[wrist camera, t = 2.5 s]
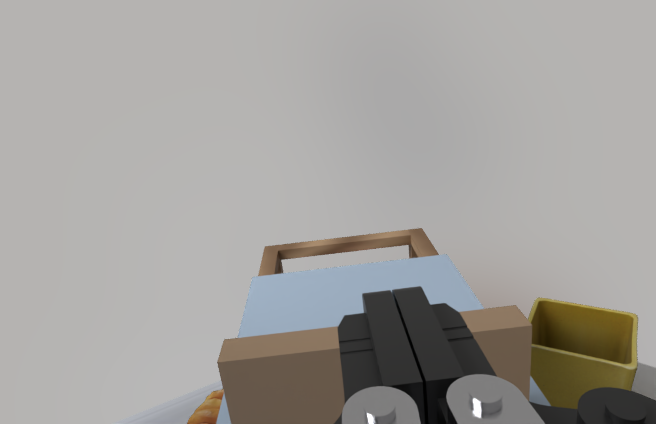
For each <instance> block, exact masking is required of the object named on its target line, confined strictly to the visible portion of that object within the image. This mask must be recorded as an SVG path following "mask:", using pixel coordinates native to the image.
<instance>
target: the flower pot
mask: <svg viewBox="0 0 656 424" xmlns="http://www.w3.org/2000/svg"><path fill="white" fill-rule="evenodd" d="M528 321H529V322H530V323H531V324H532V344H531V369H530V376H531V377H532V379H533V380H534V382H535V383H536V384H537V386H538V387H539V389H540V390H541V392H542V393H543V395H544V396H545V398H546V399H547V400H548V402H549V403H550V405H551V406H554V407H563V408H571V409H577V406H578V401H579V399H580V397H581V396H582V395H583V394H584V393H585V392H587V391H589V390H592V389H595V388H602V387H612V388H620V389H625V390H629V391H631V388H632V384H633V381H634V377H635V373H636V370H637V366H638V365H637V330H638V317H637V315H636V314H633V313H629V312H624V311H617V310H611V309H605V308H599V307H592V306H587V305H581V304H576V303H569V302H564V301H557V300H552V299H546V298H537V299H536V300H535V302H534V304H533V306H532V309H531V312H530V314H529V317H528Z"/></svg>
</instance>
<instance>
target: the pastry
mask: <svg viewBox="0 0 656 424" xmlns="http://www.w3.org/2000/svg"><path fill="white" fill-rule="evenodd" d="M223 394H224V390H223V389H222V390H218V391H213V392H212V393H211V394H210V395H209V396H207V398H206V400H205V402H204V403H203V404H201V405H200V406H199V407H198V408H197V409H196V411H195V412H194V414H193V415H192V416H191V417H190V418H189V420H188V423H187V424H216V422H217V418H218V414H219V410H220V406H221V402H222V398H223Z"/></svg>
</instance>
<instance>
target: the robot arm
mask: <svg viewBox="0 0 656 424" xmlns="http://www.w3.org/2000/svg"><path fill="white" fill-rule="evenodd" d="M362 300H363V310H364V313H359V314H351V315H344V317H343V319H342V321H341V322H340V324H339V326H338V328H337V329H338V339H339V349H340V359H341V368H342V378H343V388H344V397H345V404H344V407H343V411H342V413H341V415H340V417H339V418H338V419H337V420H336V422H335V423H334V424H656V401H655V400H653V399H651V398H648V397H646V396H643V395H641V394H638V393H635V392H633V391H629V390H625V389H620V388H612V387H602V388H595V389H592V390H589V391H587V392H585V393H584V394H583V395H582V396H581V397H580V399H579V401H578V406H577V409H571V408H563V407H554V406H546V405H540V404H537V403H533V402H530V401H528V400H527V399H526V397H525V396H524V395H523V394H522V392H521V391H520V390H519V389H518V388H517V387H516V386H515V385H513V384H512V383H510V382H508V381H506V380H504V379H502V378H499V377H497V375H496V374H495V372H494V370H493V369H492V367H491V365H490V363H489V362H488V360H487V358H486V357H485V355H484V353H483V352H482V350H481V348H480V346H479V345H478V343H477V341H476V340H475V339H474V336H473V335H472V333H471V331H470V329H469V328H468V327H467V324H466V323H465V321H464V319H463V317H462V316H461V314H460V313H459V312H458V311H456V310H455V309H453V308H452V307H450V306H449V305H447V304H446V303H440V304H432V305H430V303H429V301H428V299H427V297H426V295H425V293H424V291H423V289H422V287H421V286H418V287H409V288H401V289H393V290H392V292H391V290H386V291H378V292H369V293H362Z"/></svg>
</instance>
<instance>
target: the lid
mask: <svg viewBox="0 0 656 424" xmlns="http://www.w3.org/2000/svg"><path fill="white" fill-rule="evenodd" d="M418 286H421V287H422V289H423V291H424V293H425V295H426V297H427V299H428V301H429V303H430V305H432V304H440V303H446V304H447V305H449V306H450V307H452V308H453V309H455V310H456V311H458V312H459V313H460V314H461V316H462V317H463V319H464V321H465V323H466V324H467V327H468V328H469V329H470V331H471V333H472V335H473V336H474V339H475V340H476V341H477V343H478V345H479V346H480V348H481V350H482V352H483V353H484V355H485V357H486V358H487V360H488V362H489V363H490V365H491V367H492V369H493V370H494V372H495V374H496V375H497V377H499V378H502V379H504V380H506V381H508V382H510V383H512V384H513V385H515V386H516V387H517V388H518V389H519V390H520V391H521V392H522V394H523V395H524V396H525V397H526V399H527V400H528V401H530V402H533V403H537V404H540V405H546V406H551V405H550V403H549V402H548V400H547V399H546V398H545V396H544V395H543V393H542V392H541V390H540V389H539V387H538V386H537V384H536V383H535V382H534V380H533V379H532V377H531V376H530V369H531V344H532V324H531V323H530V322H529V321H528V319H527V318H526V317H525V316H524V315H523V313H522V312H521V311H520V310H519V309H518V307H517V306H516V305H513V306H506V307H496V308H488V309H484V308H483V306H482V305H481V304H480V302H479V300H478V299H477V297H476V296H475V294H474V293H473V292H472V290H471V289H470V287H469V286H468V284H467V283H466V281H465V280H464V278H463V277H462V276H461V274H460V273H459V271H458V270H457V268H456V267H455V265H454V264H453V262H452V261H451V260H450V258H449V257H448V255H447V254H444V255H435V256H427V257H418V258H410V259H402V260H393V261H385V262H376V263H367V264H359V265H350V266H342V267H333V268H325V269H316V270H308V271H300V272H291V273H282V274H274V275H265V276H257V277H253V278H252V282H251V286H250V290H249V294H248V298H247V302H246V306H245V310H244V314H243V318H242V322H241V326H240V330H239V334H238V338H235V339H225V340H224V342H223V345H222V348H221V352H220V355H219V359H218V362H217V363H218V367H219V372H220V376H221V381H222V385H223V390H224V394H223V398H222V402H221V406H220V410H219V414H218V418H217V422H216V424H334V423H335V422H336V420H337V419H338V418H339V417H340V415H341V413H342V411H343V407H344V404H345V397H344V388H343V378H342V368H341V359H340V349H339V339H338V329H337V328H338V326H339V324H340V322H341V321H342V319H343V317H344V315H351V314H359V313H364V310H363V300H362V293H369V292H378V291H386V290H391V292H392V290H393V289H401V288H409V287H418Z"/></svg>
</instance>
